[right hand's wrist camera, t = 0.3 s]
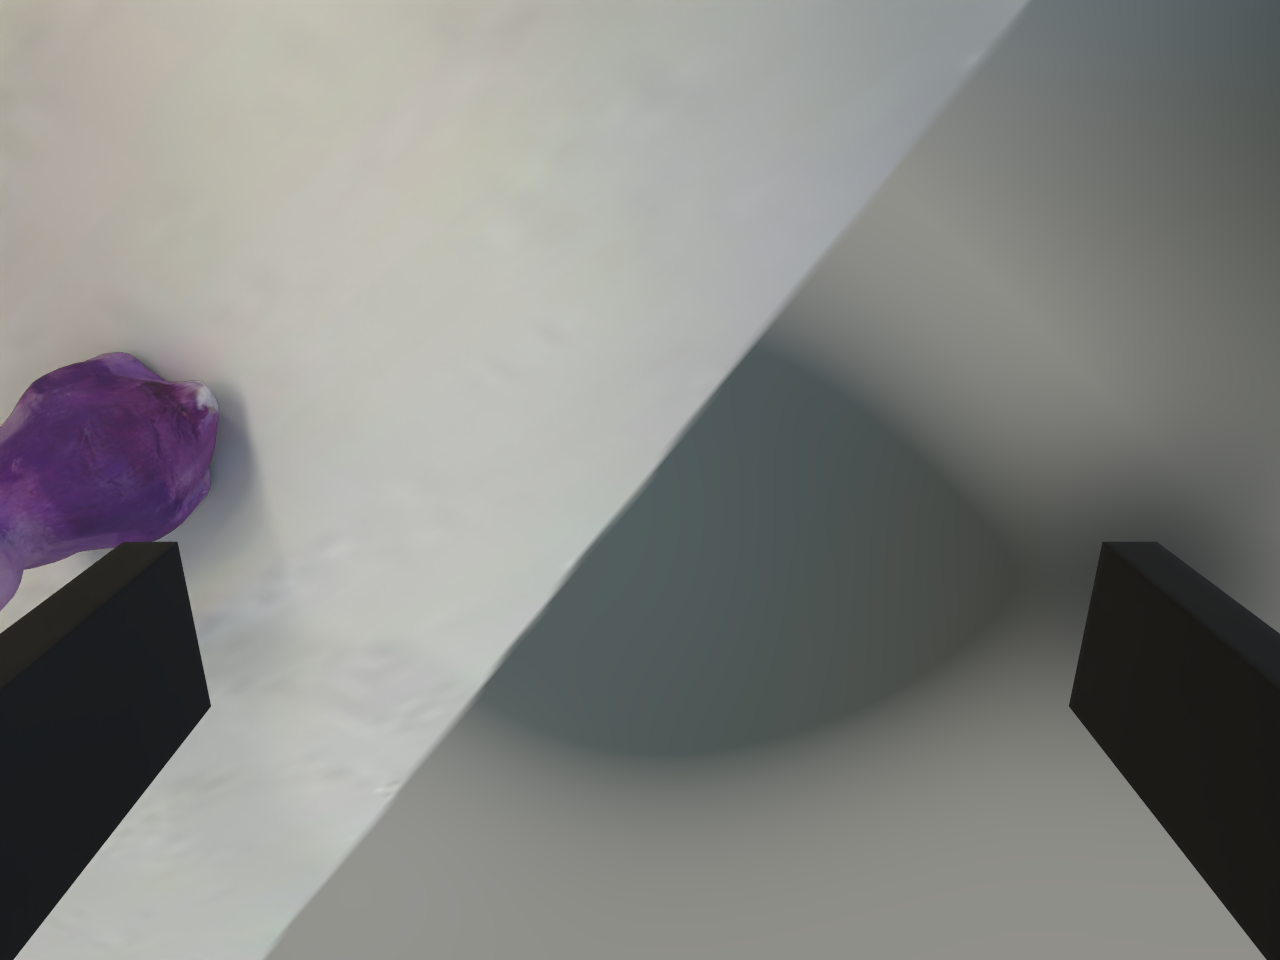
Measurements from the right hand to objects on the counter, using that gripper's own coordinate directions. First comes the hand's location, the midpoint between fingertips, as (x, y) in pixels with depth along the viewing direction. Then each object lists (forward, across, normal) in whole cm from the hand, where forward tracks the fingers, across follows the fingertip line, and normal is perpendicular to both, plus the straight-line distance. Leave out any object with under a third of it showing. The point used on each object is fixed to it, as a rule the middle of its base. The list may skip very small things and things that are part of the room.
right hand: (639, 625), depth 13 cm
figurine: (+28, -24, -7) cm, 37 cm away
